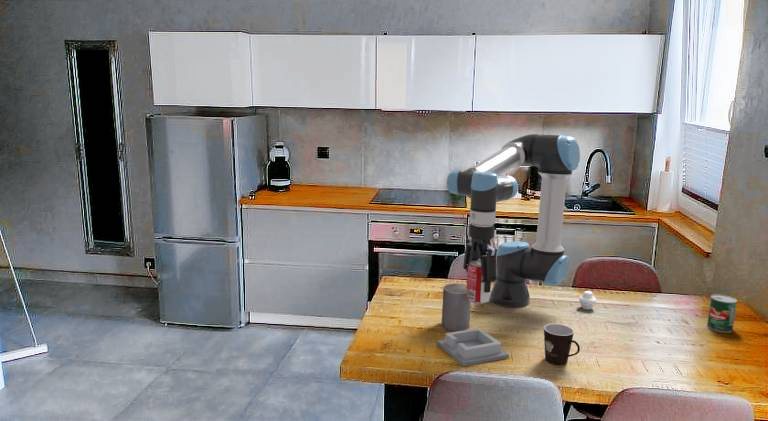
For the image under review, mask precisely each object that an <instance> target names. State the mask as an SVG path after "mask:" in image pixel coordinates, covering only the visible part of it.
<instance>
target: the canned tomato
mask: <svg viewBox="0 0 768 421" xmlns="http://www.w3.org/2000/svg"><path fill="white" fill-rule="evenodd" d="M709 300H710V303H709V309H708V314H707V324H706V327H707V328H708V329H710V330H712V331H715V332H719V333H723V334H724V333H726V334H727V333H728V334H729V333H732V332H733V330H734V325H735V318H736V313H737V312H736V311H737V304H738V300H737V299H736V298H735V297H733V296H729V295H725V294H718V293H717V294H711V296H710V299H709Z"/></svg>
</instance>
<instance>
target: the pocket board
mask: <svg viewBox="0 0 768 421" xmlns="http://www.w3.org/2000/svg"><path fill="white" fill-rule="evenodd" d="M444 334H445V336H444V337H445V338H444V339H441V340H440V339H439V340H437V346H438V347H440V348H441V349H443V351H444V352H446V353H447V354H448V355H449V356H450V357H452V359H454V360H455V361H456V362H457V363H459V364H460V365H461V366H462V367H468V366H474V365H479V364H484V363H489V362H494V361H498V360H504V359H509V358H510V354H509V353H508V352H507V351H505V350H504V349H502V342H500V341H499V340H498V339H496V338H494V337H493V335H491V334H489V333H487V332H486V331H485V330H483V329H482V328H480V327H476V328H471V329H469V328H468V329H465V330H463V331H451V332H447V333H444Z"/></svg>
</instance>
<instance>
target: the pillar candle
mask: <svg viewBox="0 0 768 421" xmlns="http://www.w3.org/2000/svg"><path fill="white" fill-rule="evenodd" d="M466 287H467V284H463V283H448V284H445V285H444V286H443V290H442V307H441V308H442V309H441V310H442V311H441V326H442V328H444V329H446V330H449V331H451V332H457V331H463V330H469V328H470V326H471V325H470V324H471V310H472V309H471V308H472V302H470V301H469V300H468V299H467V297H466Z"/></svg>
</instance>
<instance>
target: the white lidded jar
mask: <svg viewBox="0 0 768 421" xmlns="http://www.w3.org/2000/svg"><path fill="white" fill-rule="evenodd" d="M578 300H579V303H580V305H581V308H582V309H583V310H585V311H589V310H592V309H593V307H594V306H595V305H596V303H597V298H596V297H595V296H594V292H592V291H590V290H584V292H583V293H582V294H581V295H580V296H579V298H578Z"/></svg>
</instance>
